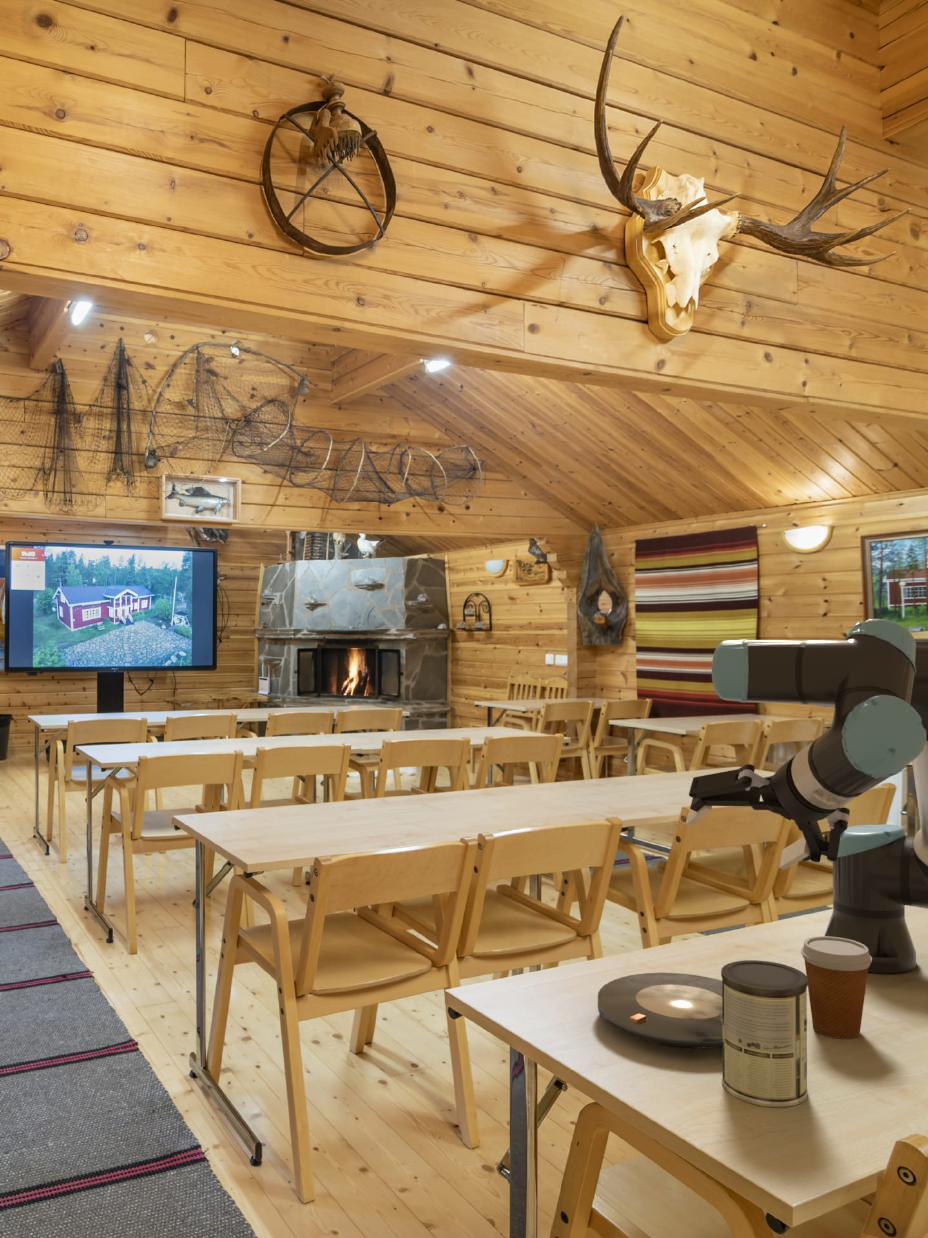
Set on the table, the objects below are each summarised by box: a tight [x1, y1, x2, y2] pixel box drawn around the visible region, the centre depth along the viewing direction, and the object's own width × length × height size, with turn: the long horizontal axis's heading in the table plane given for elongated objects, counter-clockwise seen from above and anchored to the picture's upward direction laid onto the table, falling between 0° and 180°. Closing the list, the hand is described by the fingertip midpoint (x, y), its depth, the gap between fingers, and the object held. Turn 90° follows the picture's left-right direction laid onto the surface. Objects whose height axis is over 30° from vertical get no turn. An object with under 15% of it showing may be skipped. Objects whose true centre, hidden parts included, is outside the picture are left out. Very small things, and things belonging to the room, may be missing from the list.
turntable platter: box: [597, 972, 723, 1049], centre depth 136 cm, size 24×24×2 cm
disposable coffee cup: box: [800, 935, 872, 1040], centre depth 135 cm, size 10×10×12 cm
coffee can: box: [720, 959, 809, 1108], centre depth 117 cm, size 10×10×14 cm
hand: (736, 838), depth 126 cm, fingers open, 13 cm apart
